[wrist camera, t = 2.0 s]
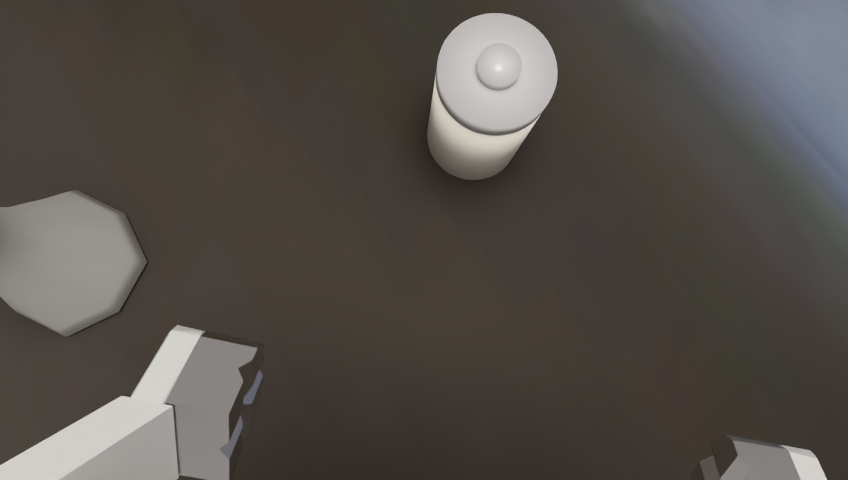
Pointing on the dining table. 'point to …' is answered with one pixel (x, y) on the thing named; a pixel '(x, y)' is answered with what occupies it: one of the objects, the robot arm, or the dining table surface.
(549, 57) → the lidded jar
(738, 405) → the dining table surface
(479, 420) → the dining table surface
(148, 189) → the dining table surface
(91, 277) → the flask
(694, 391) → the dining table surface
